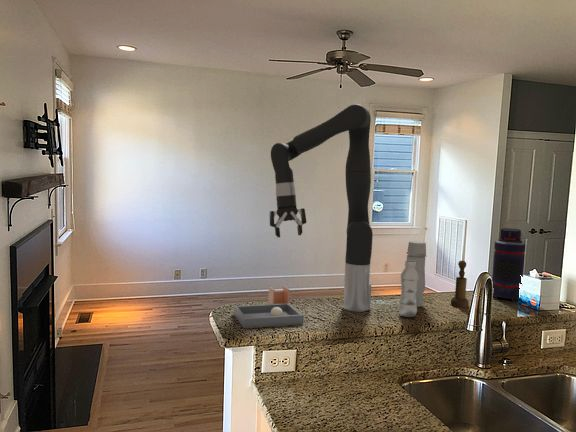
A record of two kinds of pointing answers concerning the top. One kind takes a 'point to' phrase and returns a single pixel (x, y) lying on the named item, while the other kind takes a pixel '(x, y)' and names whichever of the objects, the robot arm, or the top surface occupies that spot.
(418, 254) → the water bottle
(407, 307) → the plastic bottle
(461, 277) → the wooden pepper mill
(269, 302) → the scoop cup
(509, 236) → the striped lidded canister
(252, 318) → the tray
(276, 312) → the ball
